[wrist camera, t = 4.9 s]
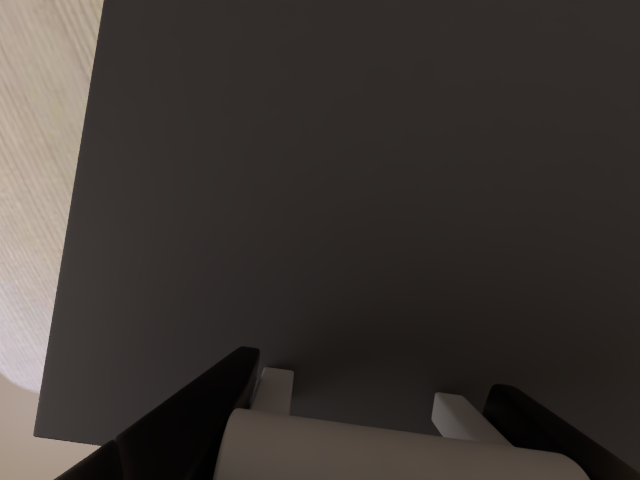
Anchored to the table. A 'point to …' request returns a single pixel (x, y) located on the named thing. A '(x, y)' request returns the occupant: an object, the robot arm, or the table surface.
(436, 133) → the lid
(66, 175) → the table surface
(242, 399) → the robot arm
